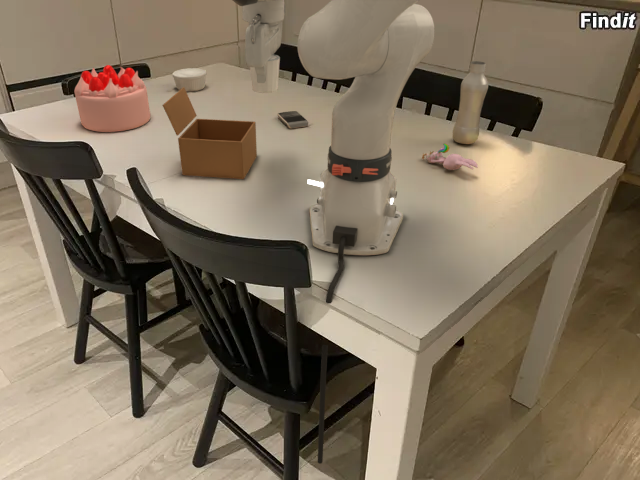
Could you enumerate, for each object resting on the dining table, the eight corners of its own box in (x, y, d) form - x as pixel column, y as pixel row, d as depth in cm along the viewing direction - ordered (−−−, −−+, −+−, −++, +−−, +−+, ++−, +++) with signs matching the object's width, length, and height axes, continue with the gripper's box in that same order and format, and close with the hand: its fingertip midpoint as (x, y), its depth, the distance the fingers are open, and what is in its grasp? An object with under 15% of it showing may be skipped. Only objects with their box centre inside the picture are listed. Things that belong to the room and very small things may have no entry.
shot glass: (286, 87, 127) (286, 55, 123) (269, 95, 122) (268, 62, 118) (261, 83, 130) (260, 51, 126) (243, 90, 125) (242, 58, 121)
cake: (161, 123, 161) (154, 72, 153) (93, 138, 152) (82, 85, 144) (135, 106, 175) (128, 58, 167) (71, 119, 165) (60, 69, 157)
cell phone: (296, 115, 166) (296, 110, 165) (309, 127, 158) (309, 122, 157) (276, 117, 165) (276, 112, 164) (288, 129, 156) (288, 124, 155)
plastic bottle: (459, 136, 150) (472, 58, 139) (482, 142, 146) (497, 62, 135) (446, 142, 147) (458, 63, 136) (469, 149, 143) (484, 67, 132)
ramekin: (169, 92, 187) (167, 76, 184) (180, 83, 196) (178, 67, 193) (202, 93, 186) (200, 77, 183) (211, 84, 195) (209, 68, 192)
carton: (243, 179, 129) (241, 142, 124) (182, 175, 131) (177, 138, 126) (256, 156, 140) (255, 121, 135) (200, 153, 142) (196, 118, 137)
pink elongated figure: (416, 167, 137) (465, 178, 125) (416, 142, 134) (466, 152, 123) (435, 161, 140) (484, 172, 128) (435, 137, 137) (485, 146, 125)
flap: (163, 104, 122) (162, 105, 122) (178, 135, 126) (176, 135, 126) (184, 87, 134) (182, 87, 134) (196, 115, 137) (195, 116, 137)
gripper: (267, 20, 108) (269, 92, 116) (286, 3, 125) (287, 67, 132) (235, 19, 109) (239, 91, 117) (259, 2, 126) (261, 66, 133)
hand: (264, 78), depth 125 cm, fingers closed on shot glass, 5 cm apart
